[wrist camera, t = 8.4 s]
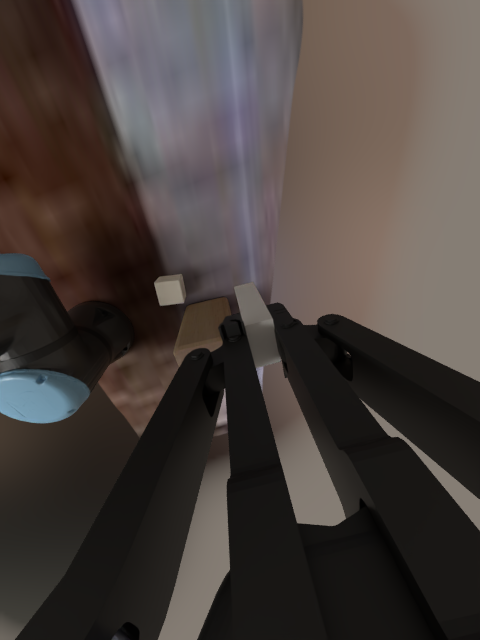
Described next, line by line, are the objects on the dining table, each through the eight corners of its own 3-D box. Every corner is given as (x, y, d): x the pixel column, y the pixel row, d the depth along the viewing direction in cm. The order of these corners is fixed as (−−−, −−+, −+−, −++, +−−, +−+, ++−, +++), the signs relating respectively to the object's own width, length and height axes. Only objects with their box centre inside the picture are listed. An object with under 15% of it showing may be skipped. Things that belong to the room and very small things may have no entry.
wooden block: (235, 331, 58) (245, 385, 40) (197, 340, 58) (189, 398, 40) (226, 294, 54) (232, 337, 36) (185, 304, 54) (170, 351, 36)
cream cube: (164, 297, 53) (159, 305, 48) (159, 276, 50) (153, 283, 46) (186, 295, 53) (183, 303, 48) (182, 273, 51) (178, 280, 46)
